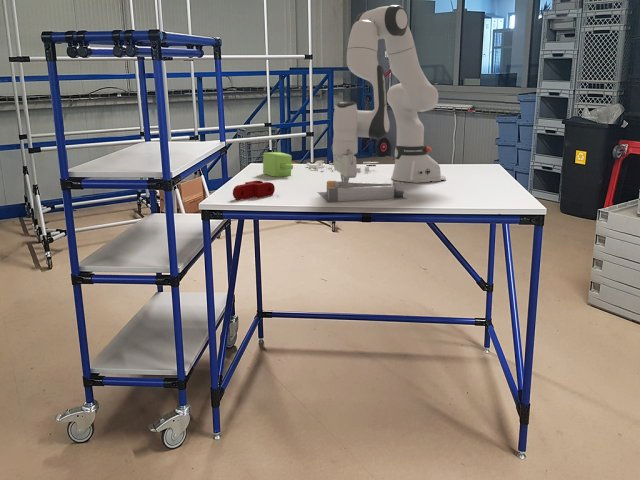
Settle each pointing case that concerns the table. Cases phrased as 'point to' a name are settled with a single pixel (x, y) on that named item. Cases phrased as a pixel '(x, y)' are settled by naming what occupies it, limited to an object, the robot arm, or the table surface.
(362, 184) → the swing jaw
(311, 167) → the miniature set
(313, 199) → the table surface
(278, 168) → the gearbox
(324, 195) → the mat
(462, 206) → the table surface
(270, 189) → the mechanical linkage
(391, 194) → the block
